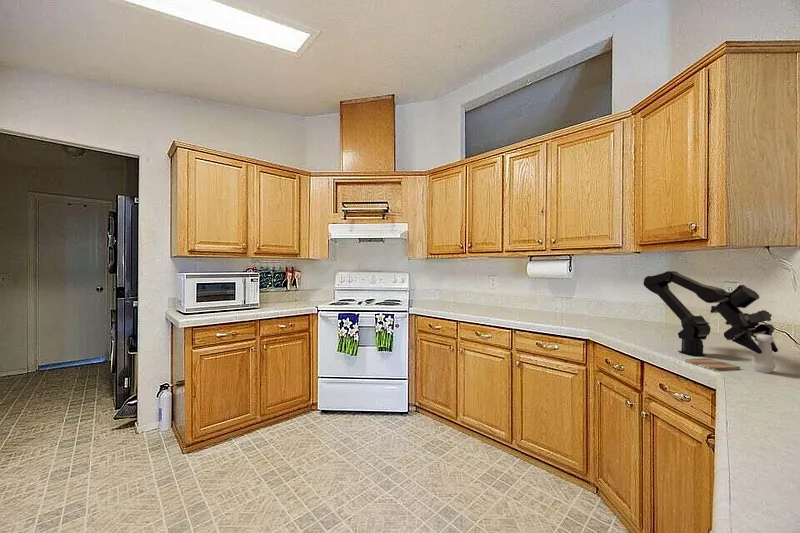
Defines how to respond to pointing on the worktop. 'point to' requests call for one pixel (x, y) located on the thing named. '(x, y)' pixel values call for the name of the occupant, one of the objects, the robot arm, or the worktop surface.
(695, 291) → the robot arm
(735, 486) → the worktop surface
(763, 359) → the salt shaker
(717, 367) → the board
